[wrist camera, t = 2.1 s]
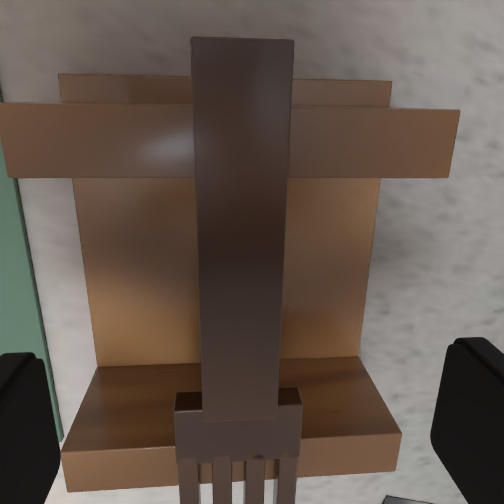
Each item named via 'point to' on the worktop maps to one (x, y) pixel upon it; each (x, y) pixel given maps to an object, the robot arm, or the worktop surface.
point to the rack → (186, 264)
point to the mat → (19, 285)
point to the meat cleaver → (400, 501)
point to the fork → (240, 272)
